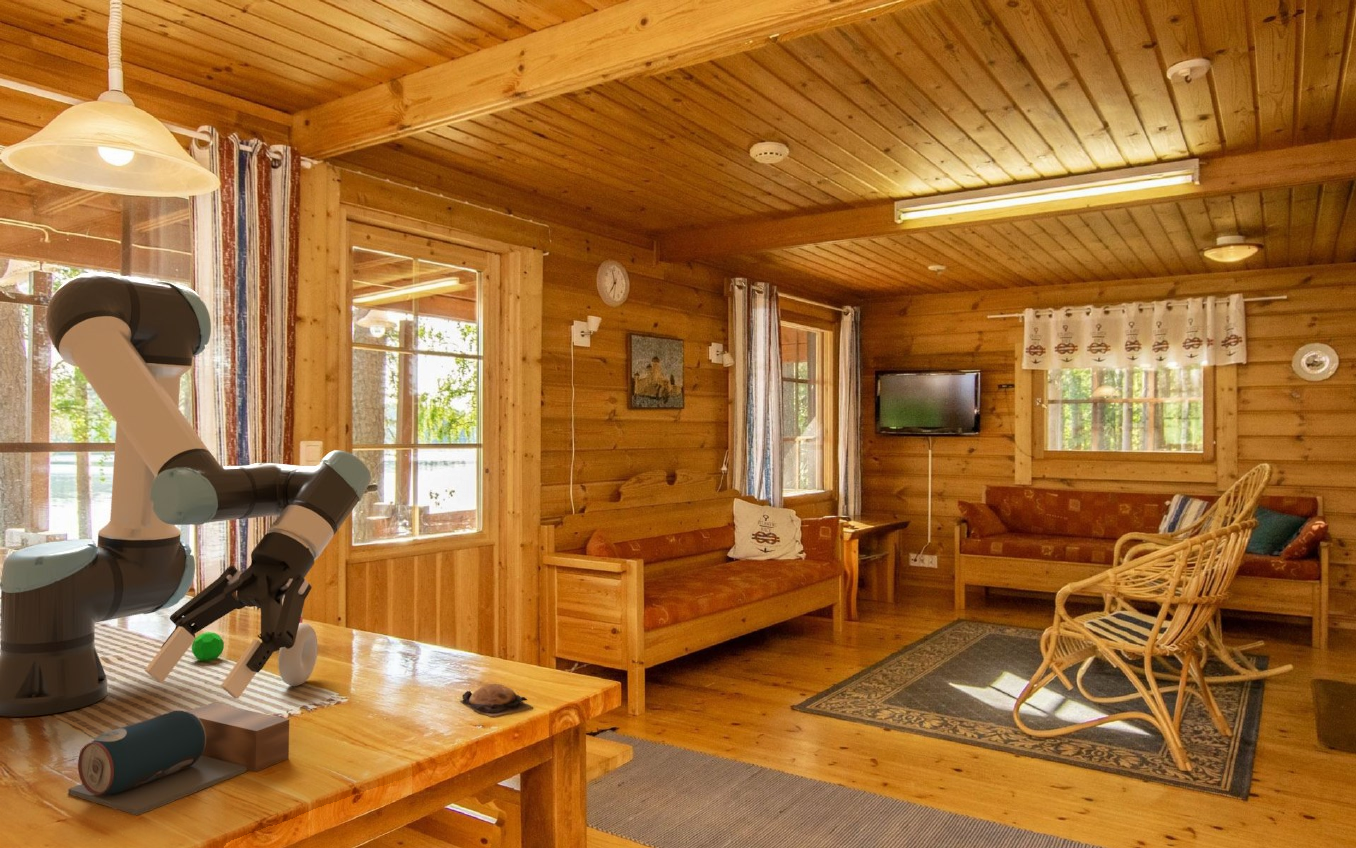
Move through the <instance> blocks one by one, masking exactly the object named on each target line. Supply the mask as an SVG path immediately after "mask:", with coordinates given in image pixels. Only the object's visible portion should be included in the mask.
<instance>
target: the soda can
mask: <svg viewBox="0 0 1356 848" xmlns="http://www.w3.org/2000/svg"><path fill="white" fill-rule="evenodd" d="M185 711H186V710H174V711H170V712H166V713H164V714H161V715H160V714H159V715H157V716H155V717H151V718H148V719H144V720H141V721H138V722H135V723H132V724H128V725H125V726H122V727H119V728H115V729H112V730H109V731H107V732H102V733H101V734H99V735H97V737H95V738H94V739H92V741H91V742H89V743H87V744H85V745H84V746H83V747H82V748H81V750H80V752H79V755H78V760H77V771H78V776H79V778H80V781H81V784H83V785H84V787H85V788H86V789H87V790H88V791H89V792H90V793H92V794H96V795H99V794H102V793H104V794H118V793H120V792H123V791H126V790H128V789H131V788H134V787H136V786H139V785H142V784H145V783H147V782H150V781H153V780H155V779H158V778H161V777H163V776H166V775H169V774H171V773H174V772H177V771H179V770H182V769H185V768H187V767H190V766H191V765H193V764H194V763H195V762H196V761H197V759H198V758H199V757H200V756H201V754H202V753H203V751H204V749H205V746H206V732H205V728H204V725H203V723H202V722H201V720H200V719H199V718H198V717H197V716H196V715H194V714H192V713H188V712H185Z"/></svg>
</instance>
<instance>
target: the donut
mask: <svg viewBox="0 0 1356 848" xmlns="http://www.w3.org/2000/svg"><path fill="white" fill-rule="evenodd" d="M318 647H319V643H318V638H317V633H316V631H315V628H313V626H311V625H310V624H308V623H307V622H302V623H299V627H298V631H297V635H296V639H295V643H294V645H293V647H291V648H290V649H287V648H285V647H282V648H280V649H279V650H278V659H277V661H278V663H277V664H278V665H277V666H278V671H279V675H280V678H281V680H282V681H283V683H285V684H287V685H288V686H291V687H297V686H301V685H303V684H305V682H307V681H308V679H309V678H310V676H311V675H312V673H313V671H314V670H315V669H314V668H315V665H316V661H317V657H318V649H319V648H318Z"/></svg>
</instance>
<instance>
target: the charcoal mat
mask: <svg viewBox="0 0 1356 848" xmlns="http://www.w3.org/2000/svg"><path fill="white" fill-rule="evenodd" d="M246 772H247V767H245V766H241V765H237V764H234V763H230V762H226V761H222V760H218V759H214V758H210V757H206V756H202V755H201V756H200V757H199V758H198V759H197V761H196V762H195V763H194V764H193V765H191V766H190V767H187V768H185V769H182V770H179V771H177V772H174V773H171V774H169V775H166V776H163V777H161V778H158V779H155V780H153V781H150V782H147V783H145V784H142V785H139V786H136V787H134V788H131V789H128V790H126V791H123V792H120V793H118V794H104V793H102V794H99V795H96V794H92V793H90V792H89V791H88V790H87V789H86V788H85V787H84V785H83V784H82V783H81V784H78V785H75V786H73V787H69V788H68V790H67V791H68V793H67V794H68V795H70V796H73V797H77V798H80V799H83V800H86V801H90V802H92V803H96V804H99V805H102V806H106V807H109V808H113V809H115V810H118V811H121V812H125V813H127V814H131V815H135V816H139V815H142V814H144V813H147V812H149V811H152V810H153V809H157V808H160V807H162V806H164V805H168V804H169V803H172V802H174V801H176V800H179V799H182V798H184V797H187V796H190V795H191V794H194V793H197V792H199V791H202V790H204V789H207V788H209V787H212V786H214V785H217V784H220V783H222V782H224V781H227V780H229V779H232V778H234V777H237V776H239V775H240V776H241V775H242V774H244V773H246Z"/></svg>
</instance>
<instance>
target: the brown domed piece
mask: <svg viewBox="0 0 1356 848" xmlns="http://www.w3.org/2000/svg"><path fill="white" fill-rule="evenodd" d="M526 701H528V699H527V698H526V697H525V696H520V695H519V694H516V692H515V691H514V690H513V689H511V688H509V687H508V686H504V685H502V684H497V683H492V684H491V683H490V684H486V685H484V686H482V687H480V688H478V689H477V690H476V691H474V692H473V693H472V692H471V691H470V690H469V691H468V690H466V691H465V692H464V693H463V694H462V700H459V702H460V704H462V705H463V706H465V707H466V708H469V709H471V710H473V711H474V712H477V713H478V714H481V715H484V716H486V717H489V718H493V719H494V718H498V717H502V716H507V715H508V716H509V715H512V714H515V713H516V714H517V713H520V712H521V713H522V712H525V711H528V710H529V711H530V710H532V709H534V708H533V707H534V706H533V705H531V704H528V703H526Z"/></svg>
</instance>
